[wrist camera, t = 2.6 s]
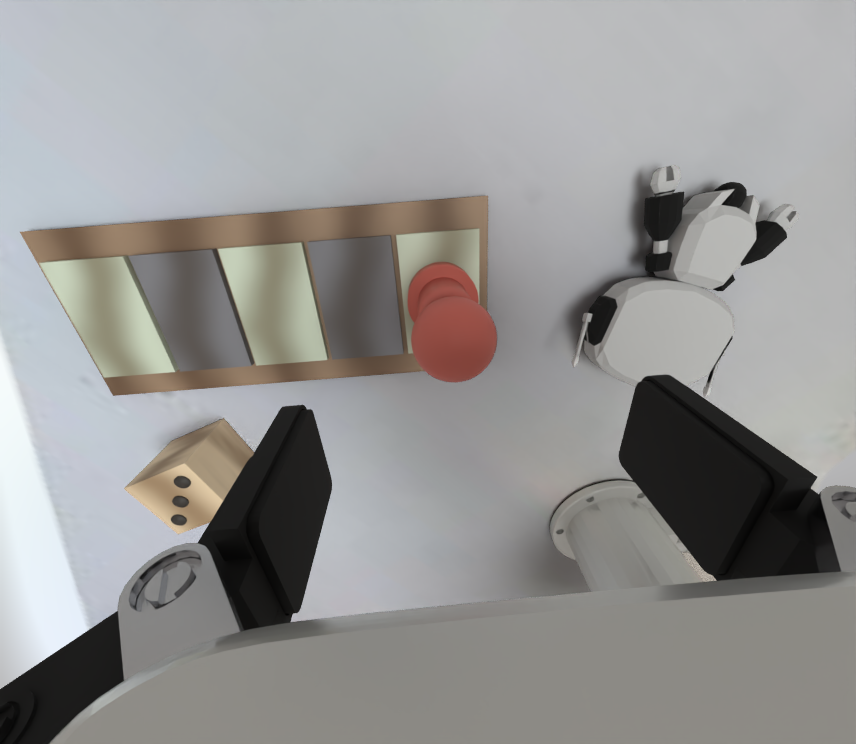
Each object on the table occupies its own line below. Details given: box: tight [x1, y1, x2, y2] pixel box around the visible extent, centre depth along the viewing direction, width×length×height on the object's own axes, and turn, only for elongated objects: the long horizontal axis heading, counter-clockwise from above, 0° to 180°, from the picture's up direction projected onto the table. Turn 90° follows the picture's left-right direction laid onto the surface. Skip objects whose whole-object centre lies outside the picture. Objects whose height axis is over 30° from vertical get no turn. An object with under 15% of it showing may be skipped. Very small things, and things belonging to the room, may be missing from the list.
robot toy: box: [572, 165, 799, 397], centre depth 26 cm, size 12×4×15 cm
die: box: [124, 418, 254, 534], centre depth 30 cm, size 6×6×6 cm
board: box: [20, 196, 488, 396], centre depth 26 cm, size 32×13×1 cm, turn 94°
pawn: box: [407, 262, 497, 382], centre depth 21 cm, size 5×5×11 cm
